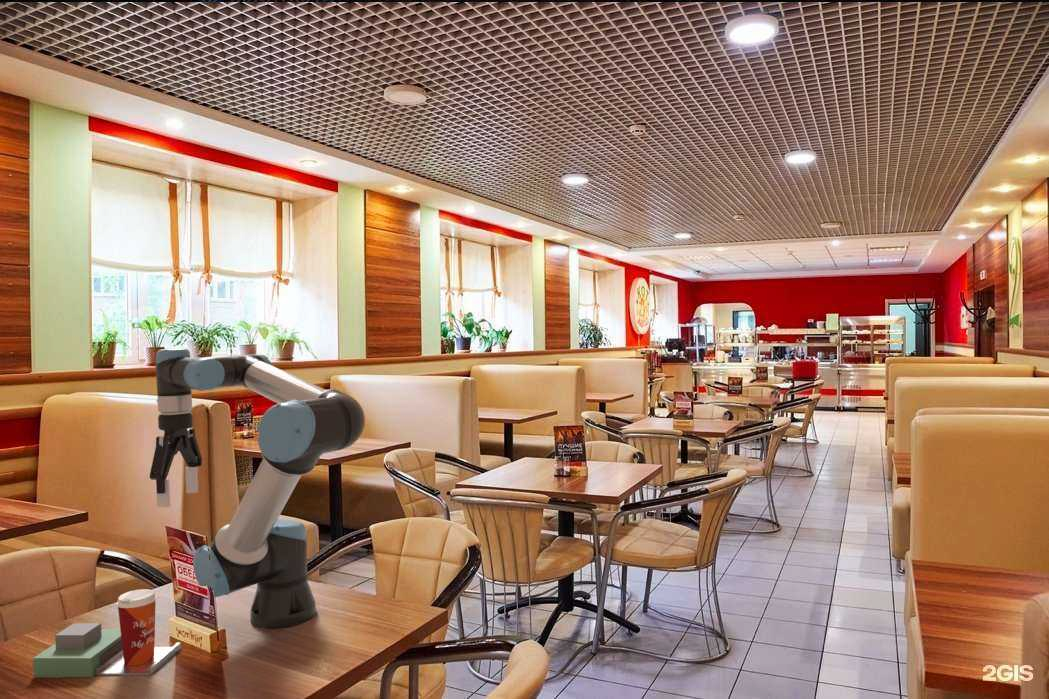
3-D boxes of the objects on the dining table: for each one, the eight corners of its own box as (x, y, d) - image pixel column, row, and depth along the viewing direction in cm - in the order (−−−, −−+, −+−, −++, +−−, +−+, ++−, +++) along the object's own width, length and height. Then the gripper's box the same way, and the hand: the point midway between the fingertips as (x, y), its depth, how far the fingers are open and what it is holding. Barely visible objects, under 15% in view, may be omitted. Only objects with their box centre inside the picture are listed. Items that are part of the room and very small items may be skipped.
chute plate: (180, 648, 162) (180, 642, 162) (150, 675, 150) (150, 668, 150) (129, 648, 162) (129, 642, 162) (95, 675, 150) (95, 668, 150)
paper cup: (142, 669, 151) (139, 602, 151) (109, 666, 153) (107, 600, 152) (168, 652, 159) (165, 588, 158) (136, 650, 161) (134, 586, 160)
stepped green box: (132, 646, 163) (130, 615, 163) (92, 677, 149) (91, 643, 149) (78, 646, 164) (77, 615, 163) (33, 677, 150) (32, 643, 149)
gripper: (185, 406, 191) (188, 487, 191) (130, 419, 166) (134, 513, 167) (214, 406, 190) (217, 487, 191) (162, 419, 165) (166, 512, 166)
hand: (178, 499), depth 179 cm, fingers open, 13 cm apart
